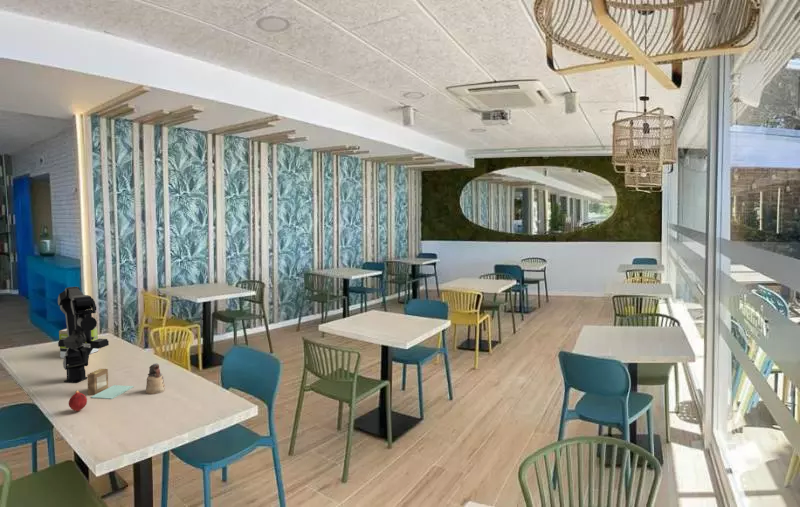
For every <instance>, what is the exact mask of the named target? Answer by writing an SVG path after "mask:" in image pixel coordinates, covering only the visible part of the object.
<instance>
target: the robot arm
mask: <svg viewBox="0 0 800 507" xmlns="http://www.w3.org/2000/svg"><path fill="white" fill-rule="evenodd" d="M57 304H58V305H57V306H59V309H60V311H61V312H62V313H63V314H64V315H65V316H64V317H65V324H66V329H67V334H68V337H66V338H63V339H60V340H58V342H57V346H58V347H59V348H60V347H66V348H68V349H67V351H66V353H65V356H64V358H63V360H62V361H63V362H62V367H63V369H64V370H66V379H65V380H63V381H64V383H75V384H76V383H80V382H82V381H84V380H88V377H87V376H86V374H87V373H86V368H85V367H89V366H88V365H89V360H90V355H91V354H92V353H91V351H92V349H93V348H95V349H102V348H105V347H107V346H109V342H110V341H109V339H108V338H98V339H97V340H94V341H91V340H93V339H94V337H91V330H93V329H94V328H95V327H96V325H97V326H98V321H97V319H96V318H95V317H93V315H92V314H96V312H97V309H98V308H97V305H96V302H95V300H94V298H93V297H92V296H91V295H89V294H88V295H87V294H84V293H83V292H82V291H81V289H80V287H79V286H69V287H65V289H64V290H62V292H60V293H59V294H58V297H57ZM90 353H91V354H90Z"/></svg>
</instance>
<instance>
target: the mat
mask: <svg viewBox="0 0 800 507" xmlns="http://www.w3.org/2000/svg"><path fill="white" fill-rule="evenodd" d="M133 388H134V385H122V384H121V385H120V384H119V385H118V384H112V386H110V387H109V386H108V388H107V389H105V390H103V391H101V392H99V393H97V394H95V395H91V397H90V399H101V398H102V399H103V400H104V399H105V400H113V399H115V398H116V397H118V396H120V395H122V394H123V393H125V392H127V391H130V389H133ZM102 399H101V400H102Z"/></svg>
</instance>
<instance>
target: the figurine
mask: <svg viewBox="0 0 800 507" xmlns="http://www.w3.org/2000/svg"><path fill="white" fill-rule="evenodd" d="M148 368H149V373H148V374H147V378H146V387H145V392H146V394H148V395H149V394H150V395H155V394H161V393H163V392H165V390H166V385H165V379H164V375H163V373H161V369H160V365H159V364H158V363H153V364H151V365H150V366H149V367H148Z"/></svg>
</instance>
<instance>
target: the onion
mask: <svg viewBox="0 0 800 507" xmlns="http://www.w3.org/2000/svg"><path fill="white" fill-rule="evenodd" d="M87 402H88V398H87V396H86V395H85V394H84V393H82V392H80V391H79V390H76V391H75V392H74V394H73V395H72V396H71V397H70V398H69V401H68V407H69V408H70V409H72V410H73V411H75V412H80V411H82V410H83V409H84V408H85V407H86V405H87Z"/></svg>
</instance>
